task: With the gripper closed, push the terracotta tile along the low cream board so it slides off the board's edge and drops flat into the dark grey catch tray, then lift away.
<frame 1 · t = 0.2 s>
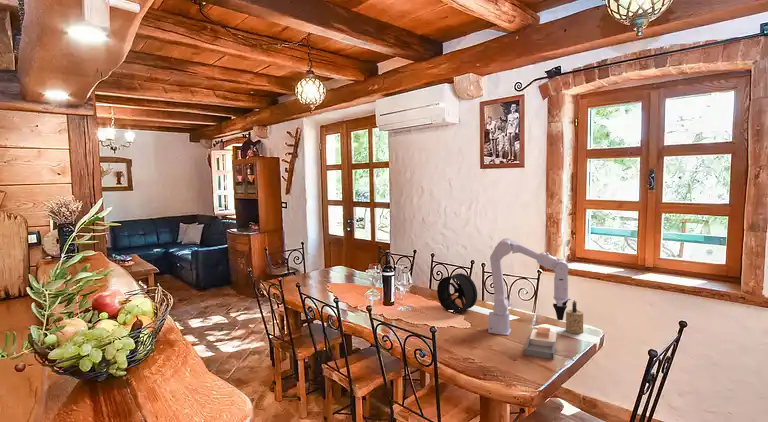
hand: (560, 317, 183), 10 cm above the table, fingers open, 7 cm apart
tile: (543, 334, 183), point 2 cm above the table, touching board
board: (543, 340, 182), on the table
car wheel rim: (457, 311, 226), on the table
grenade: (574, 331, 192), on the table
tray: (540, 351, 171), on the table
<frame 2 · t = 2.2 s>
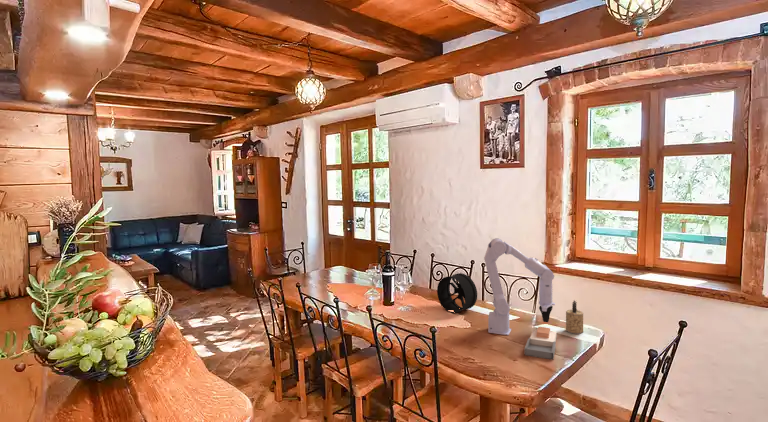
hand: (545, 321, 191), 5 cm above the table, fingers closed
nothing on the table moved.
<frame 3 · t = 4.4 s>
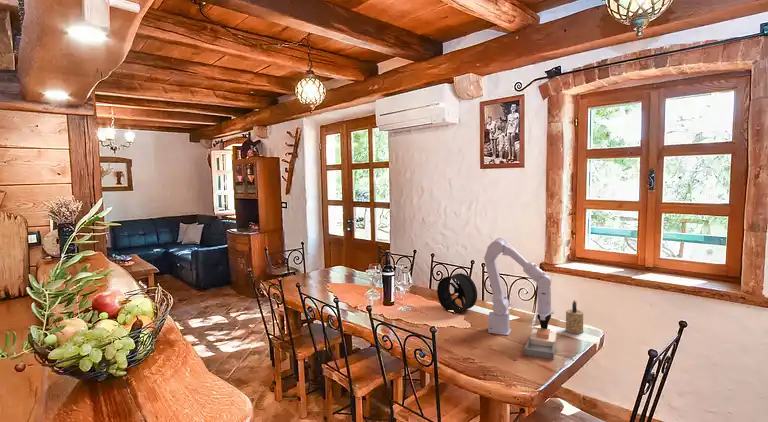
hand: (544, 330, 185), 3 cm above the table, fingers closed
tile: (543, 335, 182), point 3 cm above the table, touching board, gripper
everything else where it was.
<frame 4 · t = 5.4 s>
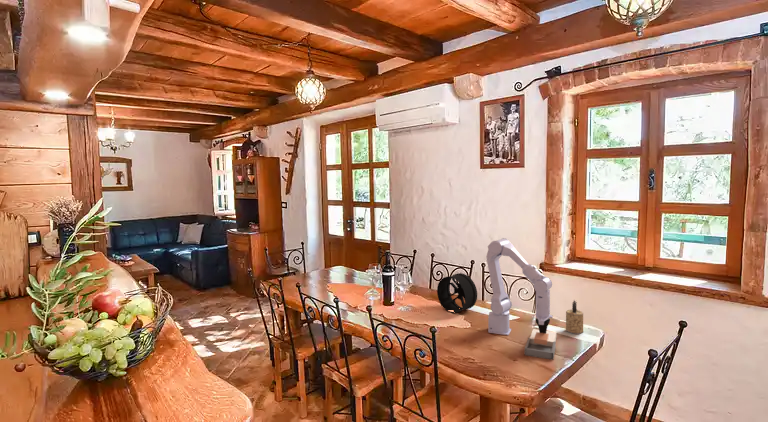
hand: (542, 335, 180), 3 cm above the table, fingers closed
tile: (541, 340, 176), point 2 cm above the table, touching board, gripper
everything else where it was.
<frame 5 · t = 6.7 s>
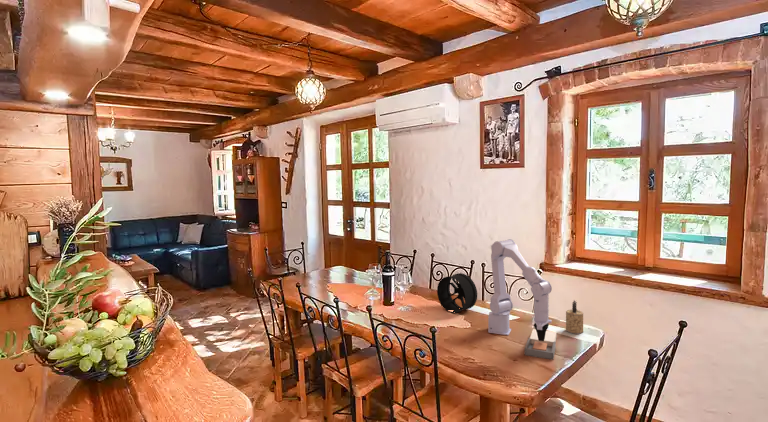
hand: (541, 340, 175), 3 cm above the table, fingers closed
tile: (540, 350, 172), resting on tray
everything else where it was.
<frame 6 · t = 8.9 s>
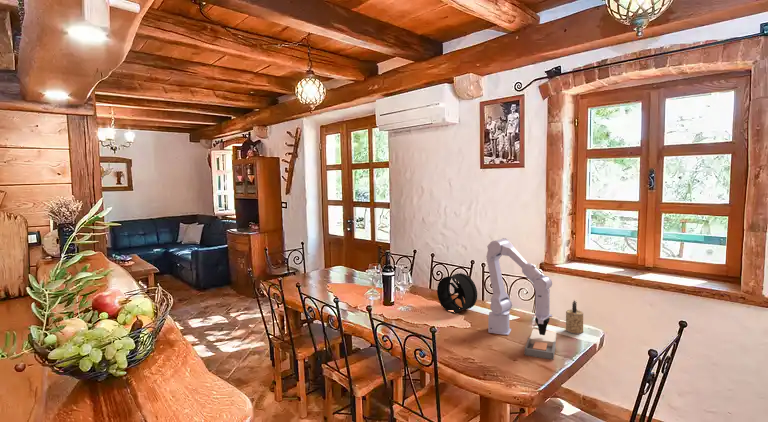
hand: (542, 334, 179), 4 cm above the table, fingers closed
nothing on the table moved.
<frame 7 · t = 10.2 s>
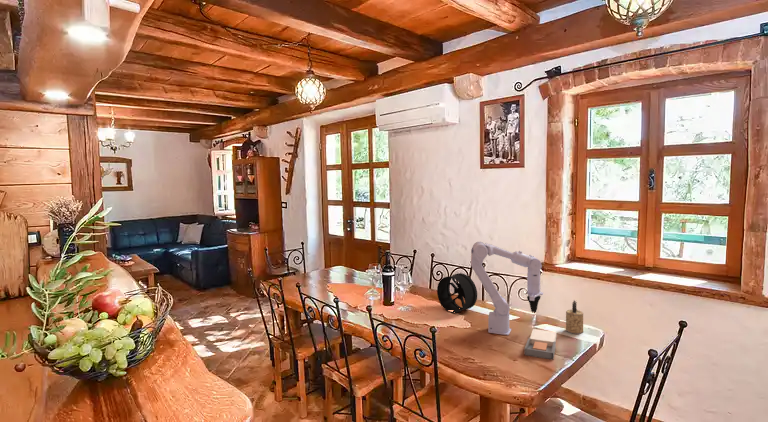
hand: (533, 311, 191), 10 cm above the table, fingers closed
nothing on the table moved.
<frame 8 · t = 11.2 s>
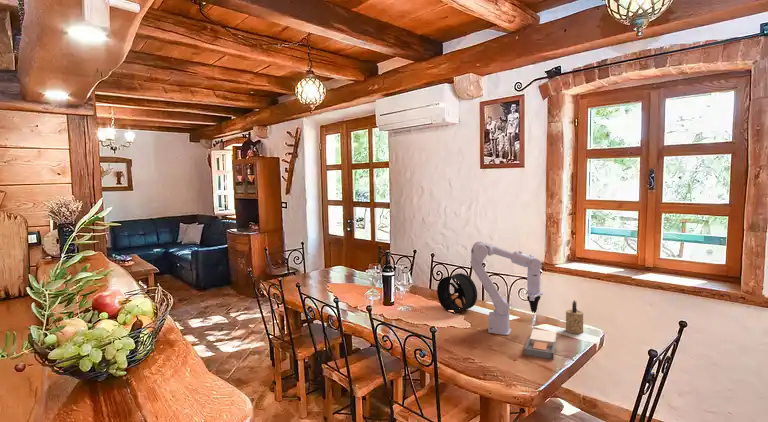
hand: (533, 311, 191), 10 cm above the table, fingers closed
nothing on the table moved.
at the end: tile inside the target area on the tray (0.6 cm from its centre), point 0.3 cm above the tray's base; tile touching tray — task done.
